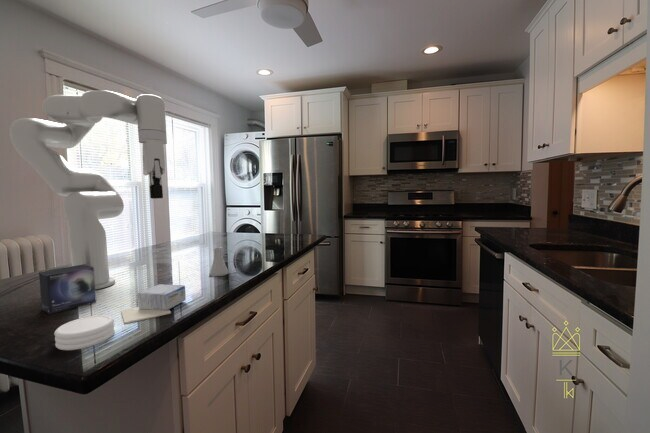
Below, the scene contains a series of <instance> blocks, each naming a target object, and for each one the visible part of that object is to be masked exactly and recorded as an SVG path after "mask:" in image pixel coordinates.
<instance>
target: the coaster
mask: <svg viewBox="0 0 650 433" xmlns="http://www.w3.org/2000/svg"><path fill="white" fill-rule="evenodd" d="M114 321H115V319H114V318H113V317H111V316H110V315H106V314H105V315H103V314H102V315H98V314H97V315H91V316H86V317H82V318H77V319H74V320H70V321H68V322H66V323H64V324H62V325H59V327H58V328H56V330H54V333H53V335H54V336H55V337H54V341H55V344H54V345H55V348H57V349H58V350H59V351H61V350H62V351H76V350H82V349H87V348H90V347H93V346H95V345H98V344H101V343H103V342H105V341H107V340H108V339H110V338H112V336H114V334H115V331H116V330H115V323H114Z"/></svg>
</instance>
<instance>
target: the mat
mask: <svg viewBox="0 0 650 433" xmlns="http://www.w3.org/2000/svg"><path fill="white" fill-rule="evenodd" d="M120 312H121V316H122V319H123V324H124V325H126V324H129V323H135V322H140V321H143V320H149V319H153V318H157V317H161V316H165V315H170V314H172V311H171V310H170V309H169V310H151V309H139V306H136V307H132V308H131V307H130V308H126V309H122V310H121V311H120Z"/></svg>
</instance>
